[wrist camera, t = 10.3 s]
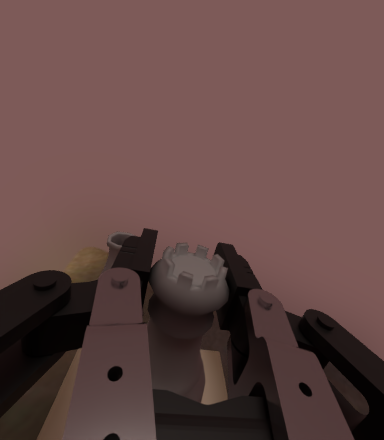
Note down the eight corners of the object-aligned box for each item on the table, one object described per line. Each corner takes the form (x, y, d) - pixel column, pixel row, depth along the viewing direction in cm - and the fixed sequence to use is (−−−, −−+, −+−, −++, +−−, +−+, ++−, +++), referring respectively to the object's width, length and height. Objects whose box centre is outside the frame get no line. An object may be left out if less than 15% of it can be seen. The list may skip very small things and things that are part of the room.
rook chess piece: (90, 401, 10) (106, 256, 7) (150, 334, 14) (177, 223, 11) (169, 479, 8) (234, 332, 5) (212, 378, 12) (262, 262, 9)
